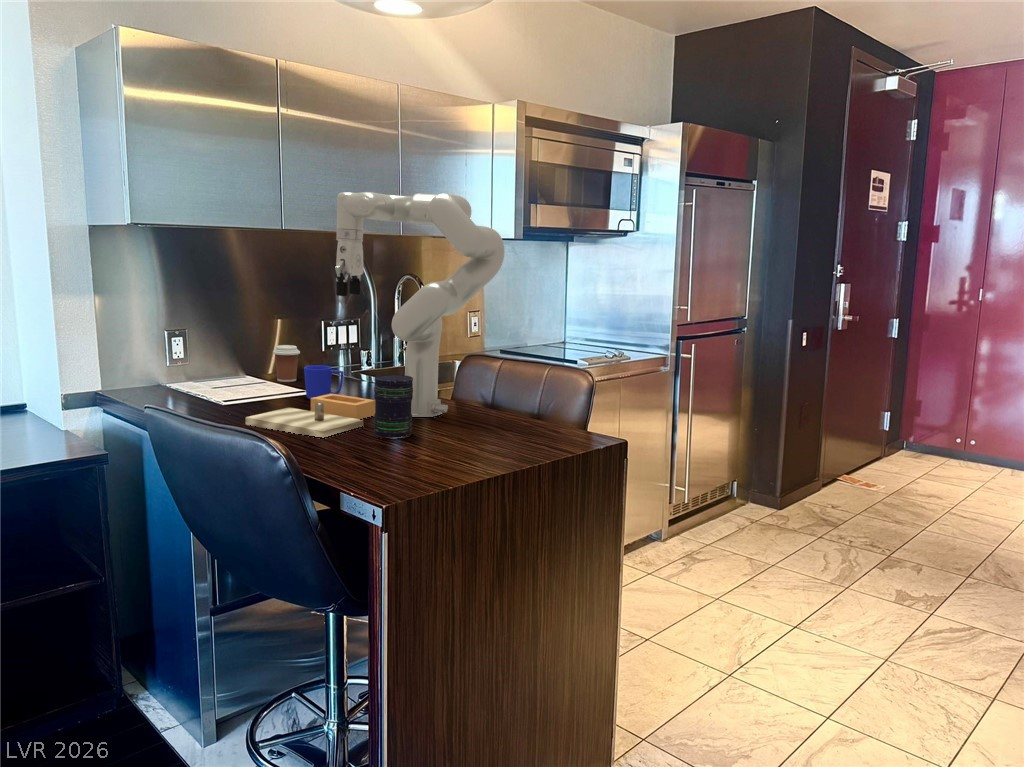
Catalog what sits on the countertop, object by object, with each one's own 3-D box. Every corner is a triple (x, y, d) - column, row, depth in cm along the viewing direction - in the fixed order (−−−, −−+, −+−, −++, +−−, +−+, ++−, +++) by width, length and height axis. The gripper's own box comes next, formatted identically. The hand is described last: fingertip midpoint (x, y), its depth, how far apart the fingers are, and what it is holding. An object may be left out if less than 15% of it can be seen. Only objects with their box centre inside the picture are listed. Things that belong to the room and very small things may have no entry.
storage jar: (370, 431, 198) (371, 374, 195) (407, 429, 201) (408, 374, 199) (377, 440, 189) (378, 381, 186) (416, 438, 192) (417, 380, 190)
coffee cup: (293, 377, 272) (293, 344, 270) (304, 381, 266) (304, 347, 264) (268, 379, 267) (268, 345, 265) (279, 383, 260) (279, 348, 258)
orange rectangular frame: (375, 415, 216) (375, 400, 215) (355, 421, 208) (356, 405, 207) (331, 408, 223) (331, 393, 222) (310, 413, 215) (310, 398, 214)
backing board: (363, 427, 202) (363, 420, 201) (323, 439, 187) (323, 431, 187) (288, 414, 213) (288, 407, 213) (245, 424, 199) (245, 417, 198)
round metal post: (325, 419, 199) (325, 403, 199) (319, 421, 197) (319, 404, 197) (318, 418, 201) (318, 401, 200) (312, 420, 198) (312, 403, 198)
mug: (339, 402, 232) (340, 370, 230) (300, 400, 232) (300, 368, 231) (346, 397, 240) (346, 366, 239) (308, 395, 240) (308, 364, 239)
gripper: (350, 236, 211) (349, 297, 214) (372, 237, 228) (371, 294, 231) (325, 234, 212) (324, 295, 215) (349, 236, 229) (348, 292, 232)
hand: (348, 295), depth 223 cm, fingers open, 9 cm apart
